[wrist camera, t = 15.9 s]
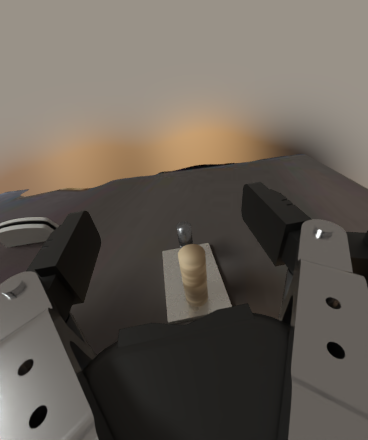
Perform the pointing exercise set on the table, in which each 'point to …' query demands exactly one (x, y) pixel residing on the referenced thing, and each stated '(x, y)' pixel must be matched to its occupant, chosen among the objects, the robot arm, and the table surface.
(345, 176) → the table surface
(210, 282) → the bolt plate
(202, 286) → the oak post
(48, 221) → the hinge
